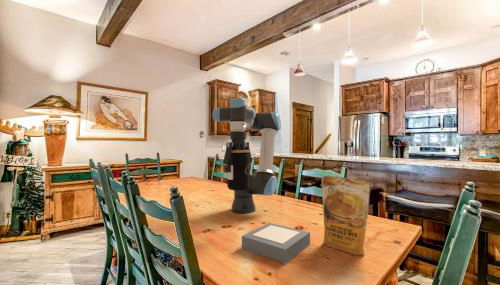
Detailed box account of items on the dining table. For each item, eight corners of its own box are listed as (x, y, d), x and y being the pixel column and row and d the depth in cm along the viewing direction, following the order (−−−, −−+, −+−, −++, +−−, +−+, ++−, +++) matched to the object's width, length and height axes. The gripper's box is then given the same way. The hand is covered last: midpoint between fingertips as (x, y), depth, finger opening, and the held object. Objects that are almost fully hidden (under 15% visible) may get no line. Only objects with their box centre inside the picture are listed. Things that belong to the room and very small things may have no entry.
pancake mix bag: (325, 239, 104) (324, 174, 104) (372, 253, 90) (371, 179, 90) (317, 243, 99) (317, 176, 99) (365, 259, 85) (365, 181, 86)
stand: (241, 248, 95) (241, 235, 95) (269, 233, 110) (269, 222, 110) (285, 263, 82) (285, 248, 82) (310, 244, 98) (309, 231, 98)
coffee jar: (249, 190, 106) (249, 150, 106) (225, 190, 106) (225, 150, 107) (250, 186, 117) (249, 149, 117) (228, 186, 117) (228, 150, 117)
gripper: (226, 129, 100) (227, 181, 100) (259, 131, 119) (259, 175, 119) (214, 130, 105) (214, 180, 105) (247, 132, 123) (247, 174, 123)
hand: (238, 177), depth 112 cm, fingers closed on coffee jar, 11 cm apart
